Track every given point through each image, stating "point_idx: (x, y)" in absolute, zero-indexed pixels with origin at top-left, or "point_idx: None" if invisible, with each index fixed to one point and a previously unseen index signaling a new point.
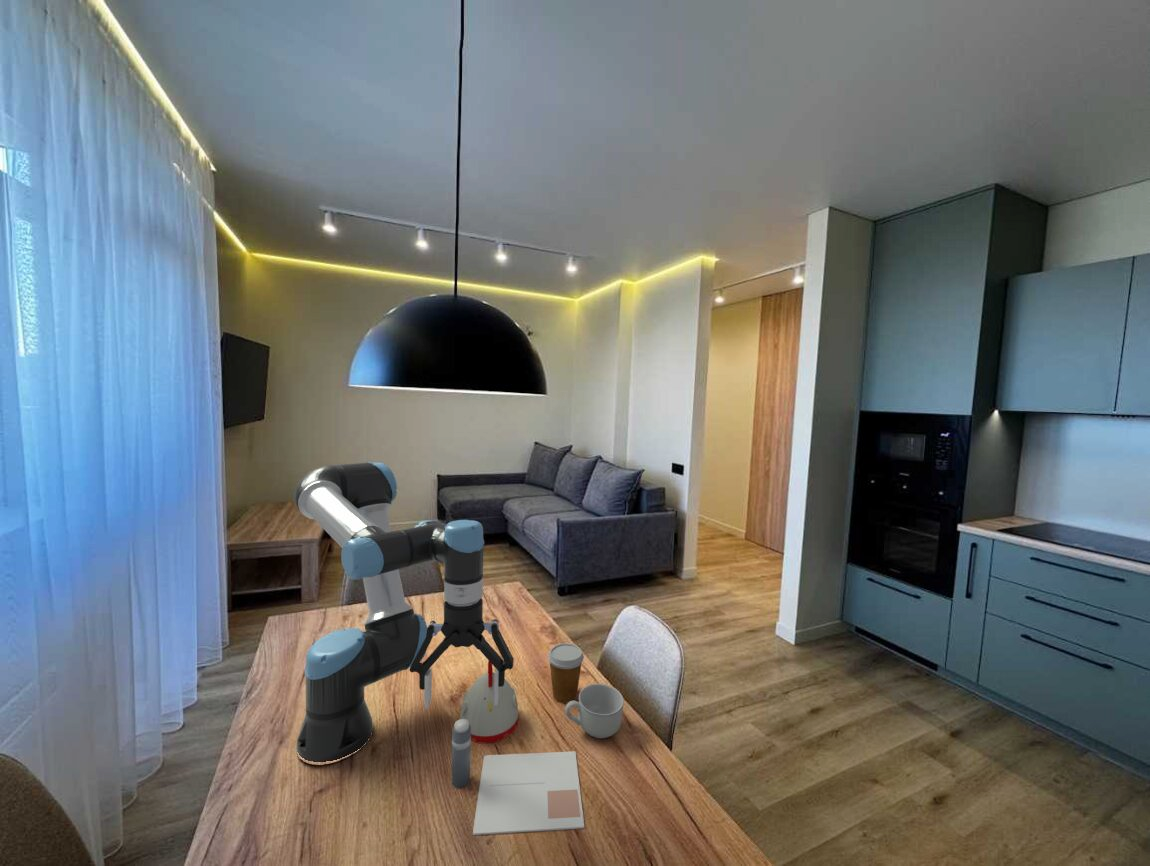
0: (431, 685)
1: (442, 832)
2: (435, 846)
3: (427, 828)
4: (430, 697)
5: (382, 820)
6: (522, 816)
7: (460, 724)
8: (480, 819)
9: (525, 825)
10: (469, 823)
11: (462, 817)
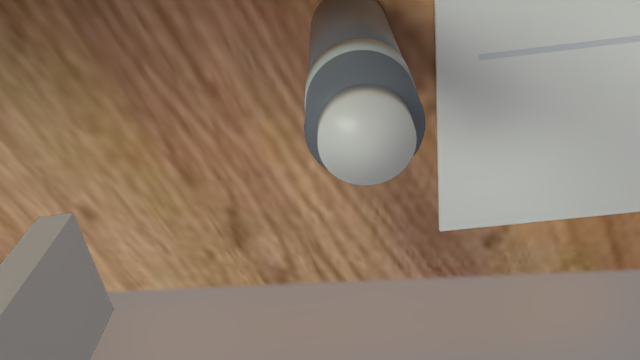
0: (4, 314)
1: (342, 224)
2: (336, 259)
3: (291, 215)
4: (71, 278)
5: (134, 199)
6: (603, 173)
7: (360, 149)
8: (458, 190)
9: (609, 199)
10: (421, 194)
11: None
